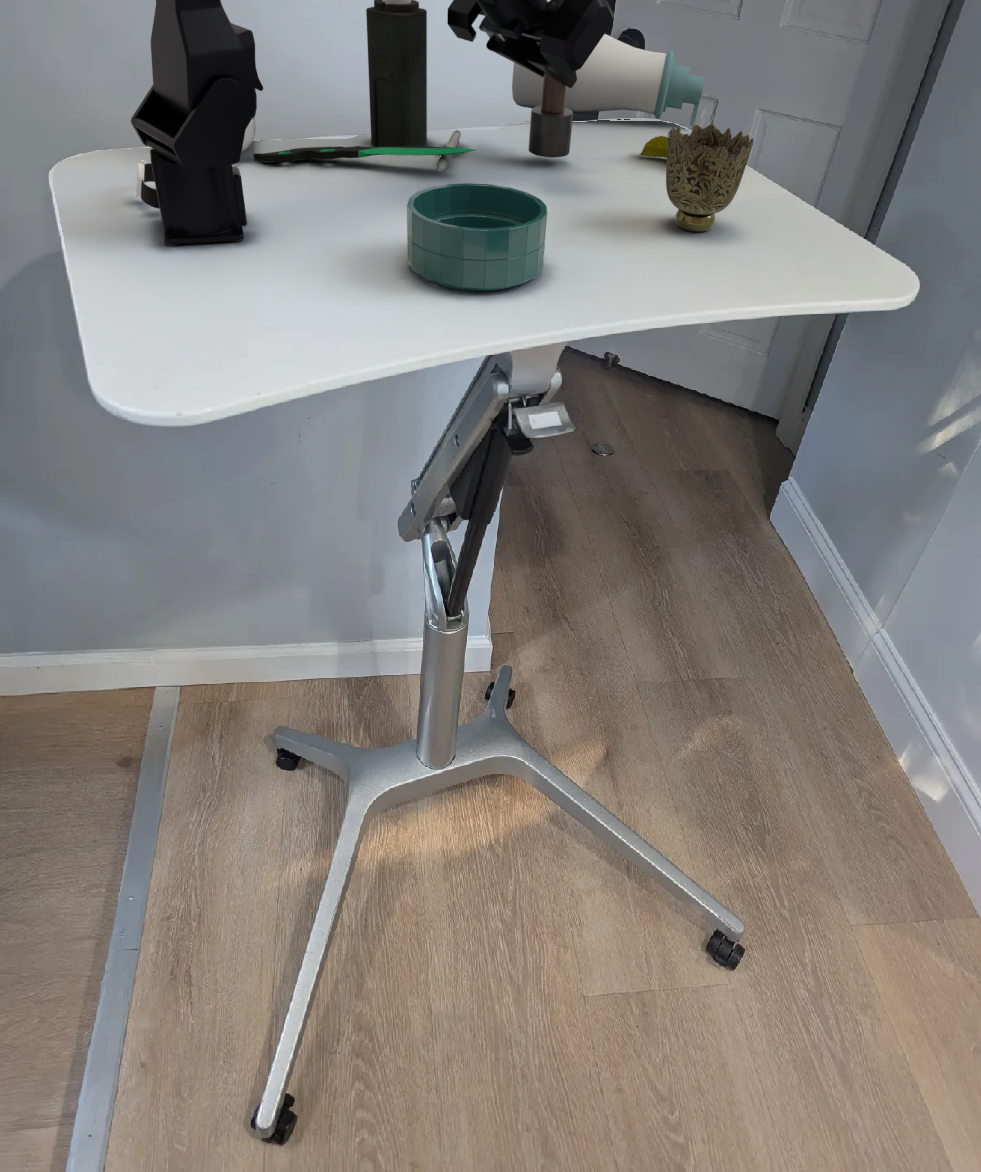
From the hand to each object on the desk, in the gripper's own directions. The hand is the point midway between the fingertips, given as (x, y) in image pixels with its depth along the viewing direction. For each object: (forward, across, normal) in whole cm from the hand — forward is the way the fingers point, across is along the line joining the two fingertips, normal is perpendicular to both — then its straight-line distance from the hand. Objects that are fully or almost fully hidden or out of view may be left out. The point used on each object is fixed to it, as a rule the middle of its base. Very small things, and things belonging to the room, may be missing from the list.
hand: (564, 81), depth 93 cm
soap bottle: (+9, +20, -6) cm, 23 cm away
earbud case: (-20, +22, +23) cm, 38 cm away
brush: (+4, 0, +6) cm, 7 cm away
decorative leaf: (+13, -8, -2) cm, 15 cm away
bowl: (-13, -19, +24) cm, 33 cm away
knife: (-11, +6, +20) cm, 23 cm away
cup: (+4, -22, +8) cm, 24 cm away
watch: (-23, +8, +35) cm, 43 cm away
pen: (-2, +6, +13) cm, 14 cm away
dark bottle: (-2, +14, +14) cm, 20 cm away
